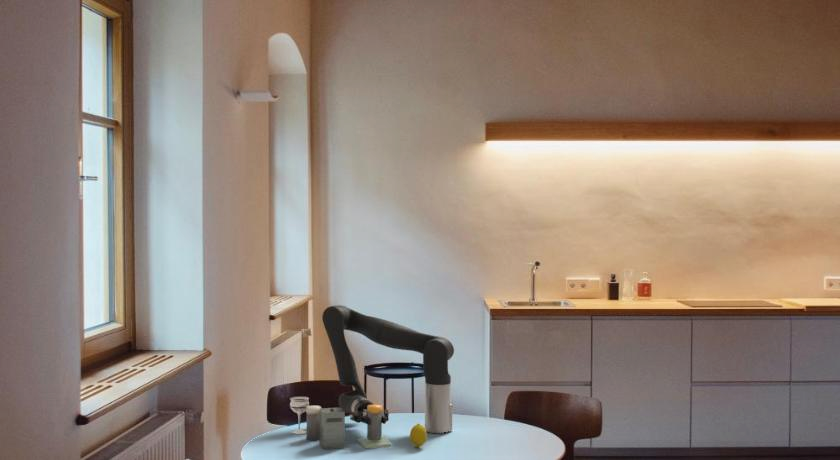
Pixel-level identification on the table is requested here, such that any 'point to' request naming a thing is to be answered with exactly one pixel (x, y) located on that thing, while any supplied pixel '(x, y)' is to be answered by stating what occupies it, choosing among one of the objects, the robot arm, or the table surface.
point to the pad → (374, 443)
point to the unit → (332, 428)
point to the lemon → (418, 435)
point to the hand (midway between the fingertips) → (376, 421)
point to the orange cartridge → (374, 422)
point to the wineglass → (299, 409)
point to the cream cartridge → (313, 423)
